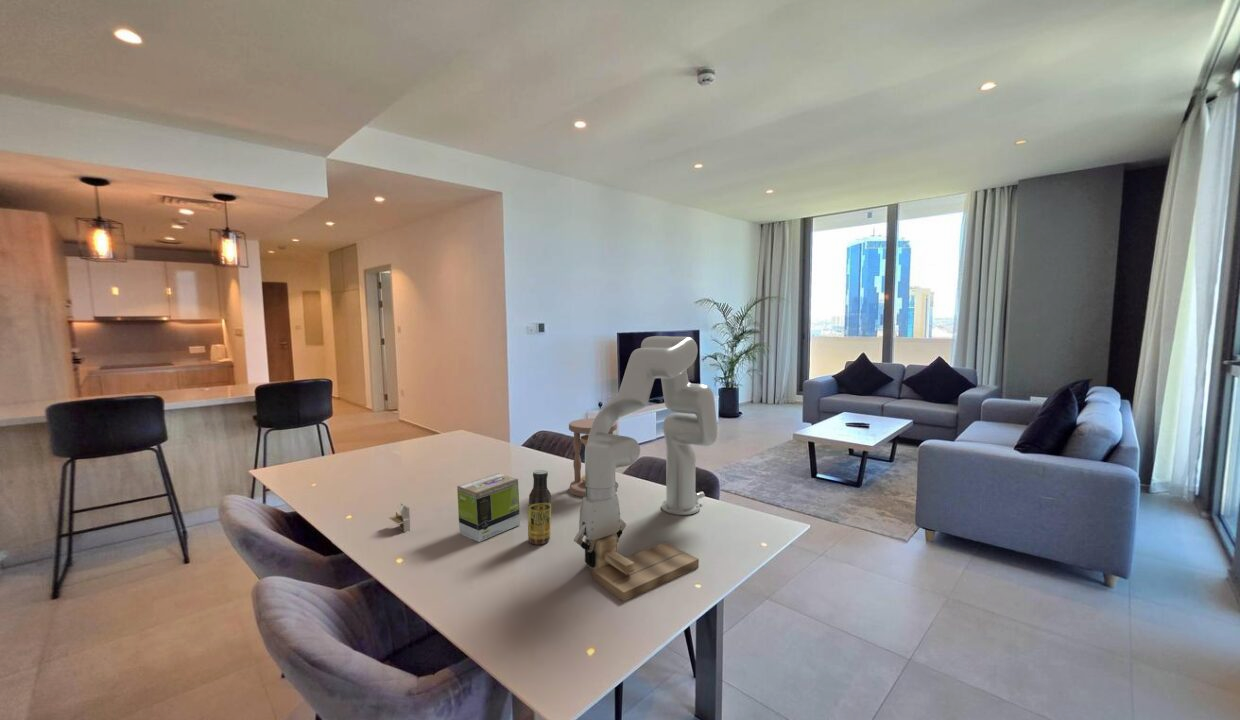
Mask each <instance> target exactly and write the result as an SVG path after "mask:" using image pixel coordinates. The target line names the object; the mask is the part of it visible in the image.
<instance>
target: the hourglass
mask: <svg viewBox="0 0 1240 720" xmlns="http://www.w3.org/2000/svg"><path fill="white" fill-rule="evenodd" d="M595 418H596V417H594V418H581V419H576V420H572V421H570V422H569V423H568V430H569V431H570V432H571V433H572V432H573V443H572V448H573V451H574V454H575V455H574V458H573V465H572V466H573V471H574V480H573V481H572V482H570V484H569V491H570V493H571V494H572V495H574V496H576V497H579V498H584V497H585V475H583V476H582V475H581V472H582V471H581V470H582V459H581V455H580V453H581V449H582V443H583V445H584V447H586V445H587V440H588V436H589V433H590V430H591V427H592V424H593V422H594V419H595ZM617 428H618V422H617V421H616V422H615V423H614V424H613V425H612V426H611V428H610V430H609V432H608V434H614V431H616V430H617ZM581 434H583V435H581ZM616 482H617V481H616V480H615V483H616ZM617 491H618V488H616V492H617Z"/></svg>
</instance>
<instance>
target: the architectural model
mask: <svg viewBox="0 0 1240 720" xmlns="http://www.w3.org/2000/svg"><path fill="white" fill-rule="evenodd" d="M397 507H398V510H399V513H400V514H399V513H397V511H396V512H395V515H392V516H389V517H388V519H389V520H391V522H393V523H394V524H396V525H398V526H399V528H400V530H401V531H402V530H403V533H404V532H405V533H408V532H410V531H411V519H410V517H411V515H410V507H408V506H407V505H405V504H404V503H400V505H398V506H397ZM407 531H408V532H407Z"/></svg>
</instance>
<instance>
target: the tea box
mask: <svg viewBox="0 0 1240 720" xmlns="http://www.w3.org/2000/svg"><path fill="white" fill-rule="evenodd" d="M456 487H457V505H458V507H457V508H458V511H457V512H458V525H459V526H458V527H459V529H458V530H459V534H460V535H462V534H463V535H462V536H464V535H465V536H464V537H466V536H467V538H468V539H471V540H472V541H475V542H477V543H481V542H482V541H485V540H488V539H490V538H492V537H495V536H497V535H498V534H502V533H504V532H507V531H508V530H511V529H513V528H515V527H518V526H521V512H520V510H521V509H520V493H519V479H518V478H516V477H513V476H507V475H506V474H505V475H504V474H503V473H502V474H501V473H495V474H491V475H489V476H486V477H482V478H478V479H475V480H471V481H469V482H466V483H463V484H460V485H457V486H456Z"/></svg>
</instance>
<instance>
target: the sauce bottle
mask: <svg viewBox="0 0 1240 720" xmlns="http://www.w3.org/2000/svg"><path fill="white" fill-rule="evenodd" d="M548 474H549V473H548V471H547V470H545V469H537V470H535V471H534V470H533V473H532V477H533V485H532V490H531V491H530V493H529V496H528V509H527V510H528V518H527V519H528V520H527V521H528V522H527V528H528V529H527V536H528V542H529V543H530V544H533V545H535V546H536V545H543V544H546V543H547V544H548V542H549V541H550V539H551V524H552V523H551V520H552V516H551V514H552V498H551V497H552V496H551V492H550V490H549V489H548V476H549V475H548Z"/></svg>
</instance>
